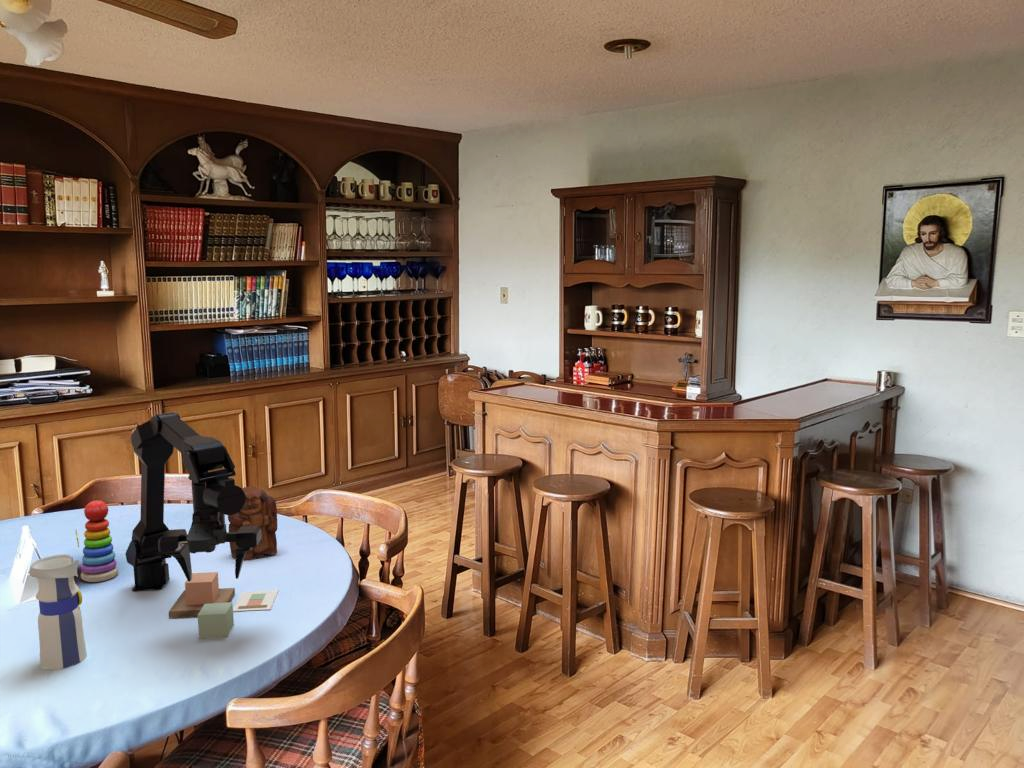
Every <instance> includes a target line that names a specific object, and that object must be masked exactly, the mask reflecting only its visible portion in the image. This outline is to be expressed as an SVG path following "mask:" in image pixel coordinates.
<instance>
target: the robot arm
mask: <svg viewBox="0 0 1024 768" xmlns="http://www.w3.org/2000/svg"><path fill="white" fill-rule="evenodd" d="M130 440H131V441H130V443H131V445H132V449H133V452H134V454H135V455H136V456H137V457H138V459H139V460H140V462H141V466H140V467H141V468H140V469H141V470H140V477H141V479H140V484H141V485H140V520H139V522H138V523H137V524H136V525H135V527H134V528H133V529H132V533H131V540H130V542H129V544H128V546H127V548H126V551H125V553H124V554H125V558H126V562H127V563H128V564H129V565H131V566H132V567H133V578H134V579H133V581H134V586H133V587H132V589H131V591H132V592H139V591H140V592H141V591H143V592H144V591H145V592H146V591H160V590H162V589H163V588H164V587H165V586H166V585H167V583H168V582H169V581H170V579H171V578H170V577H171V576H170V570H169V563H168V562H167V561H166V560H167V559H171V558H172V557H173V558H174V559H175V560H176V562H177V563H178V564H179V566H180V568H181V570H182V571H183V574H184V576H185V578H186V581H187V580H188V581H191V579H192V573H193V572H192V561H191V560H192V559H191V554H196V553H207V554H208V553H212V552H214V551H216V546H218V545H220V544H225V543H230V542H236V545H237V547H236V549H235V554H236V559H235V563H234V564H235V565H234V569H235V570H234V576H235V579H236V580H238V579H239V577H240V574H241V571H242V567H243V563H244V561H245V560H244V558H245V555H246V552H247V551H250V550H251V549H252V547H256V546H257V545H258V543H259V542H260V540H261V538H262V533H261V528H260V527H259V526H241V527H240V529H239V530H238V532H229V531H228V532H227V524H226V517H225V515H226V516H228V515H234V514H236V513H238V512H239V511H240V510H241V509H242V508H243V506H244V504H245V501H246V495H245V493H244V491H243V490H242V488H243V487H240V486H238V485H236V483H235V482H236V480H235V478H232V477H235V476H236V474H237V473H236V471H235V468H236V466H235V463H234V462H233V460H232V457H231V455H230V454H229V451H228V449H227V447H226V446H225V445H224V444H223V442H222V441H221V440H218V439H216V438H214V437H211V436H203V435H200V434H199V433H198V432H197V431H195V430H194V429H193V428H192V427H191V426H190V425H188V424H187V423H186V422H185V421H183V420H182V419H181V416H180V414H179V413H177V412H174V411H172V412H166V413H157V414H155V415H153V416H151V417H150V419H149V420H147V421H145V422H143V423H142V424H140V425H138V426H136V428H135V429H134V430H133V431H132V433H131V436H130ZM174 449H175V450H177V451H178V452H179V453H181V455H182V460H181V461H182V465H183V466H184V468H185V470H186V472H187V474H188V476H187V477H188V478H187V479H188V480H190V481H191V496H192V498H191V499H192V507H193V509H192V510H193V512H192V515H191V516H192V517H191V520H192V521H191V524H190V528H189V531H188V532H187V530H186V528H179V529H178V528H177V529H169V528H168V526H167V525H166V524H165V522H164V518H165V517H164V516H165V515H164V514H165V513H164V512H165V485H166V484H165V478H166V477H165V476H166V464H167V463H168V461H169V460H170V459H171V457H172V455H173V454H174Z"/></svg>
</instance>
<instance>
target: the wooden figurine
mask: <svg viewBox="0 0 1024 768" xmlns="http://www.w3.org/2000/svg"><path fill="white" fill-rule="evenodd" d="M241 488H242V490H243V491H244V493H245V495H246V501H245V504H244V506H243V508H242V509H241V510H240V511H239V512H238V513H236V514H234V515H227V521H228V522H229V524H228V532H238V530H239V529H240V527H241V526H259V527H260V528H261V533H262V538H261V540H260V542H259V543H258V545H257V546H256V547H252V549H251V550H250V551H247V552H246V555H245V558H244V561H250V560H251V561H252V560H253V559H254V558H257V559H261V558H266V557H267V556H276V555H277V553H278V541H277V535H276V532H277V530H278V510H277V509H278V507H277V503H276V499H275V498H274V497H273V496H270V495H268V494H267V492H266V491H265V490H264V489H262V488H261V487H257V486H245V487H241ZM236 547H237V545H236V542H229V548H230V553H231V557H232V558H233V559H234V560H236V554H235V549H236Z"/></svg>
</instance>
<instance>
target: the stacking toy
mask: <svg viewBox="0 0 1024 768" xmlns="http://www.w3.org/2000/svg"><path fill="white" fill-rule="evenodd" d="M83 513H84V517H85V518H86V519H87V520H88V521H86V523H85V524H84V528H85V529H86V530H85V531H84V533H83V536H84V538H85V539H84V540H83V545H84V546H83V548H82V555H83V556H82V557H81V560H82V561H81V562H82V563H81V566H80V569H81V570H80V571H81V572H80V578H81V580H83V581H85V582H88V583H99V582H104V581H108V580H111V579H113V578H115V577H116V576H117V575H118V573H119V568H118V567H117V560H116V559H115V558H116V553H115V551H114V545H113V543H112V542H113V537H112V536H111V535H110V534H111V529H110V528H109V525H110V522H109V520H108V519H107V518H106V517H107V516H108V515H109V507H108V505H107V503H106V502H104V501H103V500H100V499H99V500H92V501H90V502H88V503H87V504H86V506H85V507H84V510H83Z"/></svg>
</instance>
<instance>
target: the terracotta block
mask: <svg viewBox="0 0 1024 768" xmlns="http://www.w3.org/2000/svg"><path fill="white" fill-rule="evenodd" d="M219 586H220V585H219V572H218V571H211V572H192V579H191V581H188V580H187V579H186V581H185V583H184V589H185V592H186V605H201V604H211V603H214V601H215V600H216V598H217V596H218V594H219V589H220V588H219Z"/></svg>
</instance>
